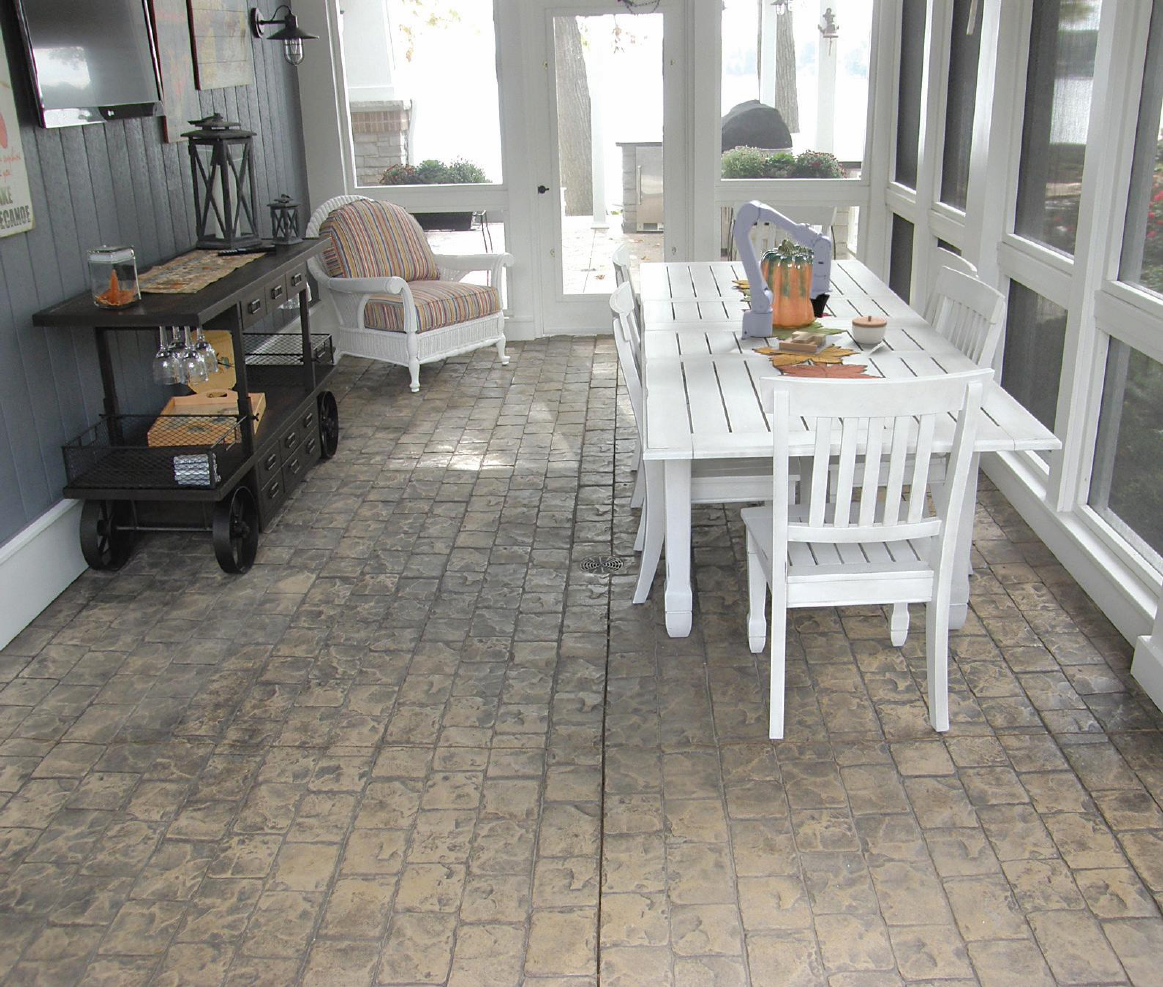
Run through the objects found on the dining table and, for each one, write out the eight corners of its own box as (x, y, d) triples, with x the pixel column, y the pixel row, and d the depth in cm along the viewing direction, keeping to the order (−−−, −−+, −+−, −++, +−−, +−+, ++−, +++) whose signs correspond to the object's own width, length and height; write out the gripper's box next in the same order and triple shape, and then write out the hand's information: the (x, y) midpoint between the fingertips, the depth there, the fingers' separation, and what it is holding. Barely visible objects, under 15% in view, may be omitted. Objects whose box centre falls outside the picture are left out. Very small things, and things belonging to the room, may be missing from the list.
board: (769, 353, 347) (770, 343, 346) (797, 335, 368) (798, 326, 367) (816, 358, 340) (816, 348, 339) (842, 340, 361) (842, 330, 360)
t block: (783, 347, 348) (784, 338, 347) (795, 340, 357) (796, 331, 356) (814, 351, 344) (815, 341, 343) (825, 343, 353) (826, 334, 351)
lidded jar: (871, 350, 348) (873, 320, 345) (843, 344, 356) (845, 315, 353) (891, 344, 354) (894, 315, 351) (864, 339, 362) (866, 310, 359)
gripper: (825, 279, 345) (822, 322, 350) (840, 272, 357) (837, 314, 362) (804, 277, 349) (801, 320, 353) (819, 270, 360) (816, 312, 365)
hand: (818, 317), depth 358 cm, fingers closed
